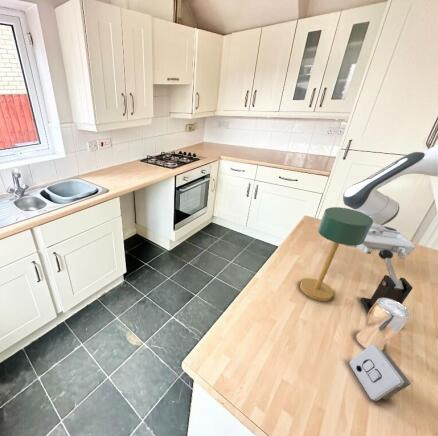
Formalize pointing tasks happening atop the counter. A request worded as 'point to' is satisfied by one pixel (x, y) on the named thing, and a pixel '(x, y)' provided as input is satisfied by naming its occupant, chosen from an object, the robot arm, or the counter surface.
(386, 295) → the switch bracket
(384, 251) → the switch lever
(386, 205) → the robot arm
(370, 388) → the electrical switch
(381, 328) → the beer glass
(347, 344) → the counter surface
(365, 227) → the desk lamp
